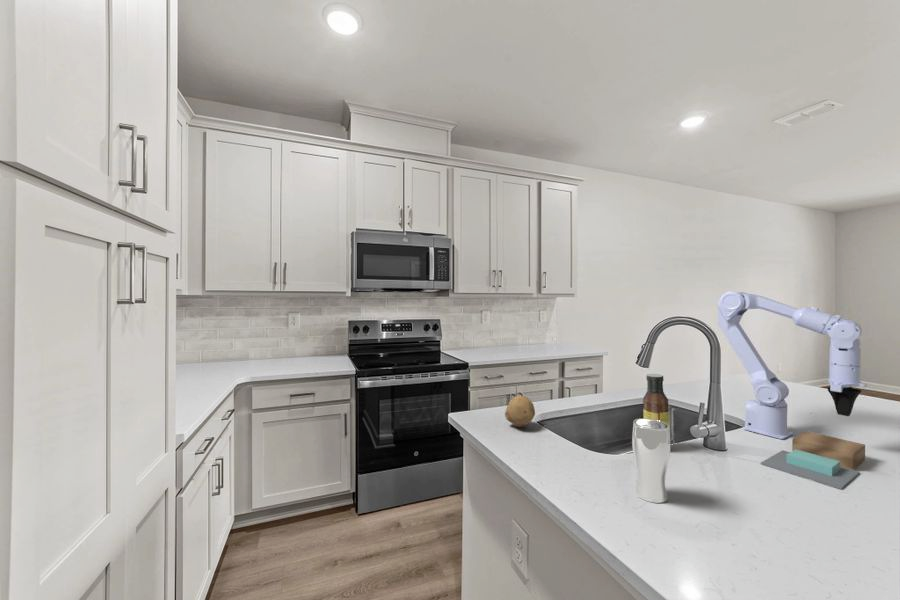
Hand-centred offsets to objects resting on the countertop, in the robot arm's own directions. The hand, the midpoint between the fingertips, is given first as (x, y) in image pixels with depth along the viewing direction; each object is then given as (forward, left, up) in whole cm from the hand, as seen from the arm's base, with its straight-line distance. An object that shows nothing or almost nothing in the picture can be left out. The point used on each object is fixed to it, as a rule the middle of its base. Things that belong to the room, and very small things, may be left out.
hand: (843, 415), depth 100 cm
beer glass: (-14, -67, -10) cm, 69 cm away
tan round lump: (-58, -63, -10) cm, 86 cm away
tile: (-1, -21, -7) cm, 22 cm away
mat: (-1, -23, -9) cm, 24 cm away
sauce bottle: (-27, -42, -10) cm, 50 cm away
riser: (-1, -10, -9) cm, 14 cm away
